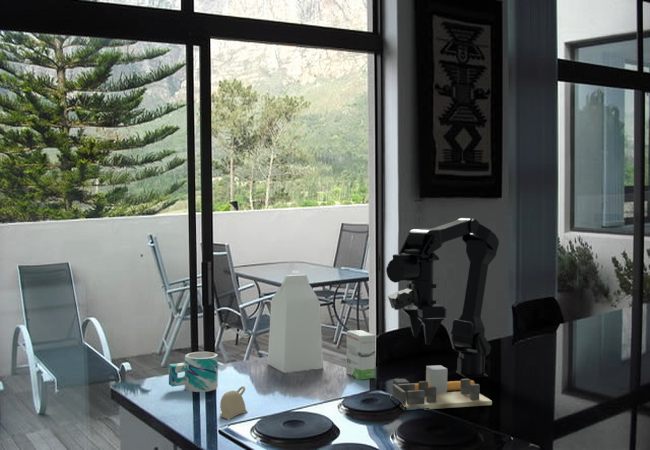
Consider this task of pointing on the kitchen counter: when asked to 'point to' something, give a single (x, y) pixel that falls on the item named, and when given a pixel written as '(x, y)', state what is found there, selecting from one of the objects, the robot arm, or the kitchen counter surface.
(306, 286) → the milk
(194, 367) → the mug
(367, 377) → the ink box
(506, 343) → the kitchen counter surface
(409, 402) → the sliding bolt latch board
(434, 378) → the toy hammer
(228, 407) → the decorative ornament
